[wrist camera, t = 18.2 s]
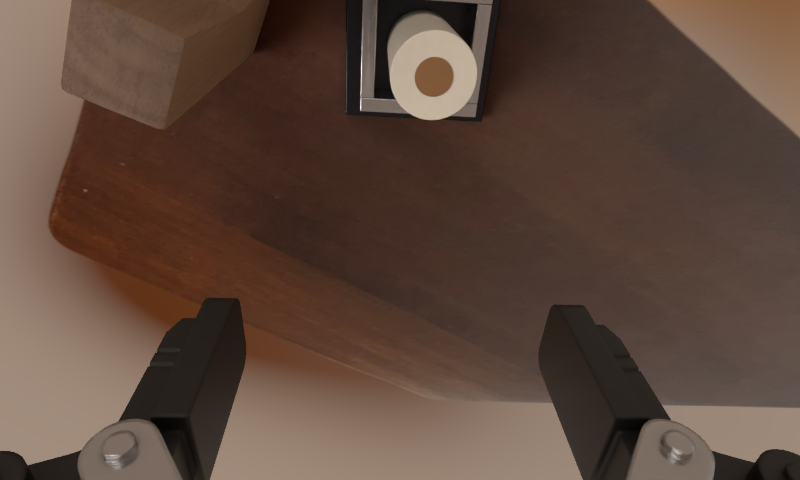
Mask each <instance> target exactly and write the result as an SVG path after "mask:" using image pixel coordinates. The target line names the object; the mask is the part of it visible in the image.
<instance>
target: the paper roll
mask: <svg viewBox="0 0 800 480" xmlns="http://www.w3.org/2000/svg"><path fill="white" fill-rule="evenodd" d="M387 53H388V64H389V74H390V84H391V88H392V92H393V94H394V97H395V99H396V100H397V102H398V103H399V105H400V106H401V107H402V108H403V109H404V110H405V111H407V112H408V113H409V114H411V115H413V116H415V117H417V118H421V119H425V120H438V119H443V118H446V117H449V116H451V115H453V114H455V113H456V112H458V111H459V110H460V109H461V108H462V107H463V106H465V104H466V103H467V102H468V101H469V99H470V97H471V96H472V94H473V92H474V89H475V86H476V82H477V64H476V60H475V57H474V54H473V52H472V50H471V49H470V47H469V46H468V45H467V44H466V42H465V41H464V40H463V39H462V38H461V37H460V36H459V35H458V34H457V33H456V32H455V31H454V29H453V28H452V27H451V26H450V25H449V24H448V23H447V22H446V21H445V20H444V19H443V18H442V17H441V16H440V15H438V14H436V13H434V12H432V11H428V10H415V11H411V12H409V13H406V14H405V15H403V16H402V17H401V18H399V19H398V20H397V21H396V22H395V24H394V25H393V27H392V29H391V31H390V33H389V36H388V41H387Z"/></svg>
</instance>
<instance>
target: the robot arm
mask: <svg viewBox="0 0 800 480" xmlns="http://www.w3.org/2000/svg"><path fill="white" fill-rule="evenodd" d="M245 359H246V342H245V335H244V328H243V321H242V314H241V307H240V302H239V300H238V299H237V298H206V299H205V300H204V302H203V304H202V306H201V309H200V311H199V313H198V315H197V317H196V319H195V318H183V319H182V320H180V321H179V322H178V323H177V324H176V325H175V326H174V327H172V328H171V329H170V330H169V331H168V332H166V334H165V336H164V338H163V340H162V342H161V343H160V345H159V347H158V349H157V353H155V355H154V357H153V358H152V360H151V362H150V367H148V368H147V370H146V371H145V373H144V375H143V377H142V379H141V381H140V383H139V384H138V386H137V388H136V390H135V392H134V394H133V396H132V397H131V399H130V401H129V403H128V405H127V407H126V409H125V411H124V412H123V414H122V416H121V418H120V420H119V421H118V422H116V423H114V424H112V425H109V426H107V427H106V428H104V429H102V430H101V431H99V432H98V433H97V434H96V435H94V436H93V437H92V438H91V439H90V440H89V441H88V442H87V443H86V445H85V446H84V447H83V449H82V450H80V451H78V452H76V453H72V454H69V455H65V456H62V457H58V458H54V459H51V460H47V461H43V462H39V463H35V464H32V465H28V466H27V464H26V462H25V460H24V459H23V457H22V456H20V455H19V454H17V453H15V452H10V451H0V480H210V477H211V474H212V470H213V467H214V464H215V460H216V457H217V454H218V451H219V448H220V444H221V441H222V438H223V435H224V431H225V428H226V425H227V422H228V418H229V415H230V412H231V409H232V405H233V402H234V399H235V395H236V392H237V389H238V386H239V383H240V379H241V376H242V373H243V370H244V365H245ZM539 367H540V371H541V374H542V376H543V379H544V381H545V384H546V387H547V389H548V392H549V394H550V397H551V399H552V402H553V404H554V407H555V409H556V412H557V415H558V417H559V420H560V422H561V425H562V427H563V430H564V433H565V435H566V437H567V440H568V443H569V445H570V448H571V450H572V453H573V456H574V458H575V461H576V463H577V466H578V468H579V471H580V473H581V476H582V478H583V480H800V456H799V455H797V454H795V453H791V452H789V451H785V450H778V449H772V450H767V451H765V452H763V453H762V454H761V455H760V457H759V458H758V459H757V461H756V462H755V463H753V462H750V461H746V460H742V459H738V458H734V457H731V456H728V455H724V454H720V453H717V452H714V451H711V449H710V448H709V446H708V445H707V443H706V442H705V441H704V440H703V439H702V438H701V437H700V436H699V435H698V434H696V433H695V432H694V431H693V430H691V429H690V428H688V427H686V426H684V425H682V424H680V423H678V422H675V421H671V419H670V418H669V416H668V415H667V413H666V411H665V410H664V408H663V407H662V405H661V403H660V402H659V400H658V399H657V397H656V395H655V394H654V392H653V391H652V389H651V387H650V386H649V384H648V383H647V381H646V379H645V378H644V376H643V375H642V373H641V371H638V367H637V365H636V363H635V362H634V360H633V359H632V358H630V354H629V352H628V351H627V349H626V347H625V346H624V344H623V343H622V341H621V339H620V338H618V337H617V336H616V335H615V334H614V333H613V332H611V331H610V330H609V329H608V328H607V327H605V326H604V325H596V324H595V323H594V321H593V319H592V318H591V316H590V314H589V312H588V311H587V309H586V308H585V307H584V306H583V305H553V306H552V307H551V309H550V311H549V315H548V318H547V322H546V325H545V329H544V333H543V336H542V340H541V343H540V347H539Z"/></svg>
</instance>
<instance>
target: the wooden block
mask: <svg viewBox="0 0 800 480" xmlns="http://www.w3.org/2000/svg"><path fill="white" fill-rule="evenodd" d="M269 2H270V0H72V2H71V10H70V18H69V25H68V33H67V41H66V49H65V56H64V64H63V72H62V79H61V86H62V89H63V90H65V91H66V92H68V93H70V94H72V95H75V96H77V97H80V98H82V99H85V100H87V101H90V102H92V103H95V104H97V105H99V106H102V107H104V108H107V109H109V110H112V111H114V112H117V113H119V114H122V115H124V116H127V117H129V118H132V119H134V120H137V121H139V122H142V123H144V124H147V125H149V126H152V127H154V128H157V129H166V128H167V127H169V126H170V125H171V124H172V123H173V122H174V121H176V120H177V119H178V118H179V117H180V116H181V115H183V114H184V113H185V112H186V111H187V110H188V109H190V108H191V107H192V106H193V105H194V104H195V103H196V102H198V101H199V100H200V99H201V98H202V97H203V96H205V95H206V94H207V93H208V92H209V91H210V90H212V89H213V88H214V87H215V86H216V85H217V84H219V83H220V82H221V81H222V80H223V79H224V78H225V77H227V76H228V75H229V74H230V73H231V72H232V71H234V70H235V69H236V68H237V67H238V66H239V65H240V64H242V63H243V62H244V61H245V60H246V59H248V58H249V57H250V56H251V55H252V54H253V53H254V49H255V46H256V43H257V40H258V37H259V33H260V30H261V27H262V24H263V21H264V18H265V14H266V11H267V8H268V5H269Z"/></svg>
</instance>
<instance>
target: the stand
mask: <svg viewBox="0 0 800 480" xmlns="http://www.w3.org/2000/svg"><path fill="white" fill-rule="evenodd" d="M499 6H500V0H347V4H346V114H347V115H366V116H385V117H403V118H417V117H415V116H413V115H411V114H409V113H408V112H407V111H405V110H404V109H403V108H402V107H401V106H400V105H399V103H398V102H397V100H396V99H395V97H394V94H393V92H392V88H391V84H390V74H389V64H388V53H387V41H388V36H389V33H390V31H391V29H392V27H393V25H394V24H395V22H396V21H397V20H398V19H399V18H401V17H402V16H403V15H405V14H406V13H409V12H411V11H415V10H428V11H432V12H434V13H436V14H438V15H440V16H441V17H442V18H443V19H444V20H445V21H446V22H447V23H448V24H449V25H450V26H451V27H452V28H453V29H454V31H455V32H456V33H457V34H458V35H459V36H460V37H461V38H462V39H463V40H464V41H465V42H466V44H467V45H468V46H469V47H470V49H471V50H472V52H473V54H474V57H475V60H476V64H477V82H476V86H475V89H474V92H473V94H472V96H471V97H470V99H469V101H468V102H467V103H466V104H465V106H463V107H462V108H461V109H460V110H459V111H458V112H456V113H455V114H453V115H451V116H449V117H446V118H443V119H441V120H460V121H478V122H481V121H482V116H483V109H484V103H485V96H486V90H487V84H488V77H489V71H490V64H491V58H492V51H493V45H494V38H495V32H496V26H497V19H498V13H499Z"/></svg>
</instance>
